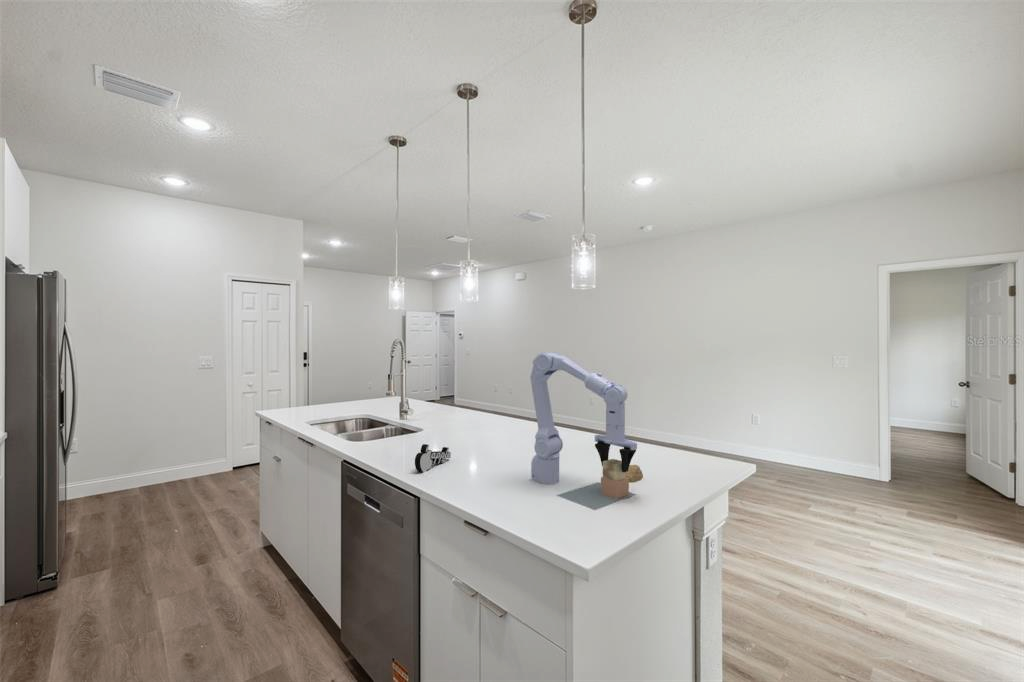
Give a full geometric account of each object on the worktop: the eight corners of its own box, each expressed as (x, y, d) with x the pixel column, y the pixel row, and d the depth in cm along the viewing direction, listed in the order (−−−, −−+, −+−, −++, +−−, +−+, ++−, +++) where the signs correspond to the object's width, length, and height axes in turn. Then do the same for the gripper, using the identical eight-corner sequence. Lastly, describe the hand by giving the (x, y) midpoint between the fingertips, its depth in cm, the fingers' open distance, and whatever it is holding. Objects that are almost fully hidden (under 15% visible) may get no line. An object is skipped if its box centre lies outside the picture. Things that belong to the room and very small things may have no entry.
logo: (418, 473, 154) (422, 444, 156) (413, 472, 155) (416, 444, 157) (449, 470, 173) (452, 444, 175) (444, 469, 174) (447, 444, 176)
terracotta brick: (600, 493, 134) (600, 477, 134) (612, 489, 138) (612, 473, 138) (616, 498, 130) (616, 482, 130) (628, 494, 134) (628, 478, 134)
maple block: (602, 477, 134) (602, 461, 134) (612, 474, 137) (612, 458, 137) (615, 481, 130) (615, 464, 130) (625, 478, 133) (626, 462, 133)
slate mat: (556, 497, 132) (556, 495, 132) (598, 484, 145) (598, 482, 145) (594, 512, 121) (594, 510, 121) (636, 497, 134) (636, 494, 134)
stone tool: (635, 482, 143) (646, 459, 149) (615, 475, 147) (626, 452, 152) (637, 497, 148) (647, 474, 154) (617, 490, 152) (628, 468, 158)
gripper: (588, 422, 137) (588, 465, 137) (627, 430, 126) (626, 476, 126) (602, 420, 142) (602, 461, 142) (641, 427, 130) (640, 472, 130)
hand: (614, 468), depth 134 cm, fingers open, 7 cm apart
